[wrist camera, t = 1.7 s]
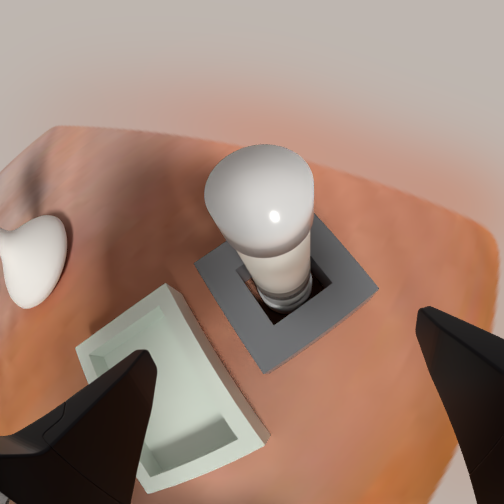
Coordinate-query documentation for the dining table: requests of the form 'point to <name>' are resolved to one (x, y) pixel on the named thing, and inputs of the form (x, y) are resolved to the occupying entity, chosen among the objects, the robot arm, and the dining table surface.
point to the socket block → (302, 319)
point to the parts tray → (178, 391)
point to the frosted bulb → (267, 219)
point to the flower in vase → (33, 259)
